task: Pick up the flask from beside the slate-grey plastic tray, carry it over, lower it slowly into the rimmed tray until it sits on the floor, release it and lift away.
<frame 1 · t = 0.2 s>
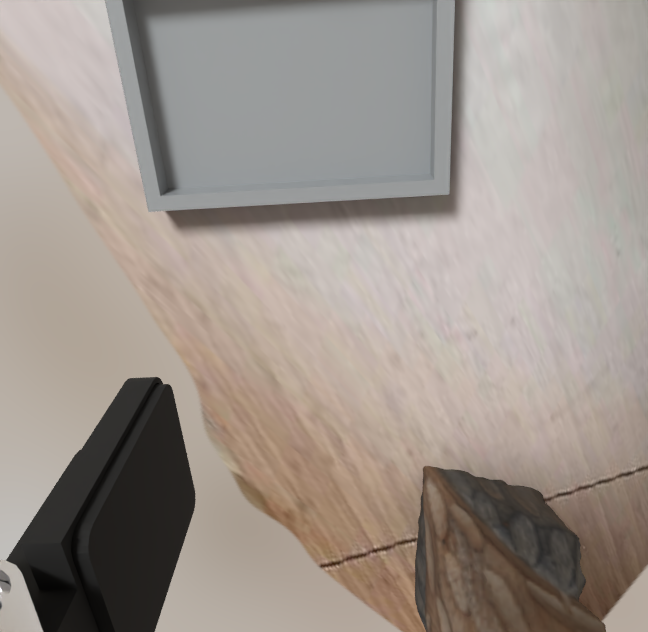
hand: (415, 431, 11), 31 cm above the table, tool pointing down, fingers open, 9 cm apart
tray: (290, 86, 37), on the table
owl: (468, 508, 52), on the table
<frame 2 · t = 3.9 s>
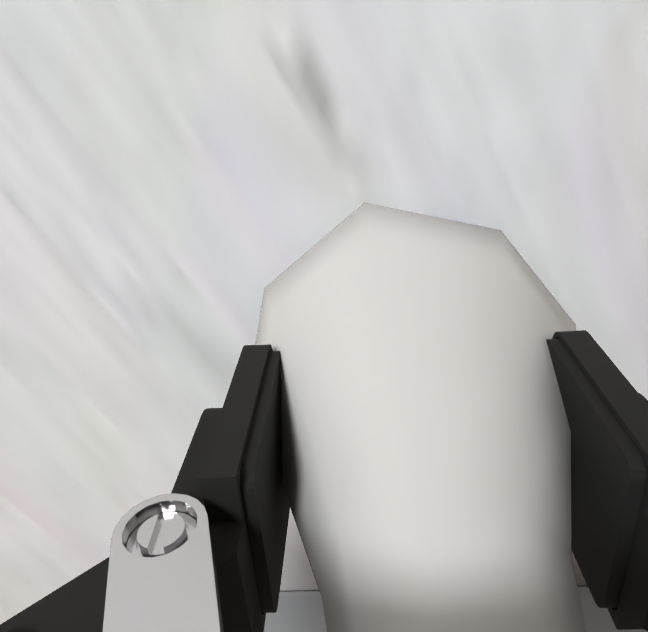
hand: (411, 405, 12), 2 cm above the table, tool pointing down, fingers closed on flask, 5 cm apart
flask: (402, 351, 14), on the table, touching gripper
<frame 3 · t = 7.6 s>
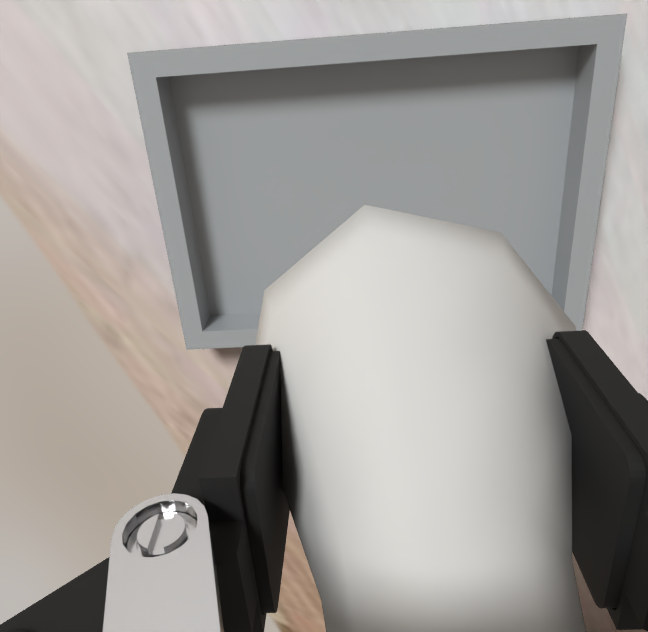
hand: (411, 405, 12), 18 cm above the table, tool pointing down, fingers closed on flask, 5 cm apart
flask: (402, 353, 14), point 16 cm above the table, touching gripper
tray: (373, 192, 28), on the table
when the fingers open (3 cm above the table, at t = 11.3 s): flask stays where it is, resting on tray.
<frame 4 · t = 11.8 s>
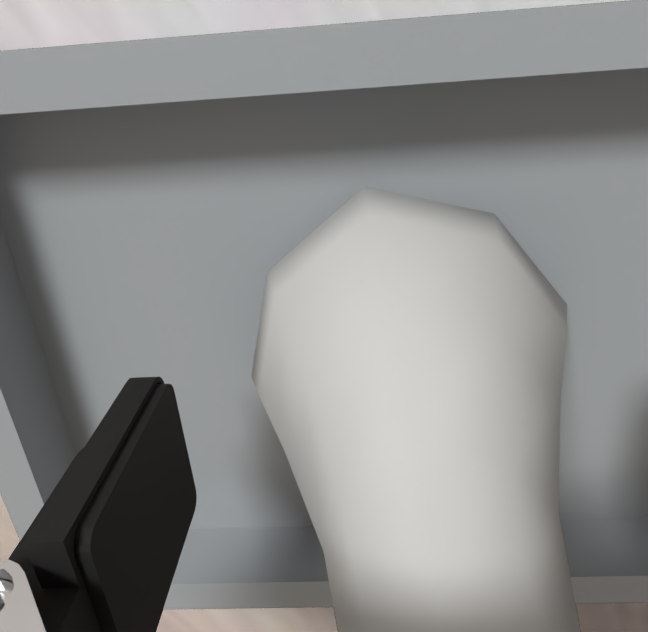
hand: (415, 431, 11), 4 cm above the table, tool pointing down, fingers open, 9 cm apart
flask: (400, 332, 14), resting on tray
tray: (398, 331, 14), on the table
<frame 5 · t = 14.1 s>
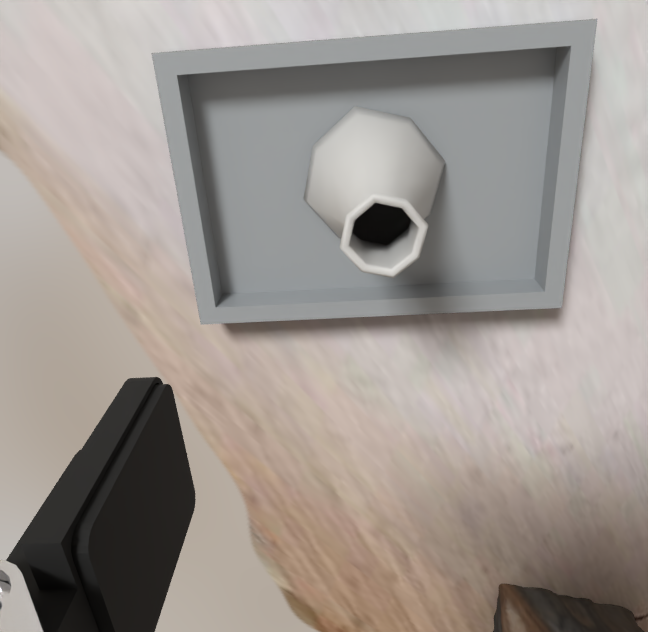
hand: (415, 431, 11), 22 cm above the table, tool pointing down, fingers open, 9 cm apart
flask: (372, 178, 30), resting on tray
tray: (371, 180, 31), on the table
owl: (546, 626, 46), on the table
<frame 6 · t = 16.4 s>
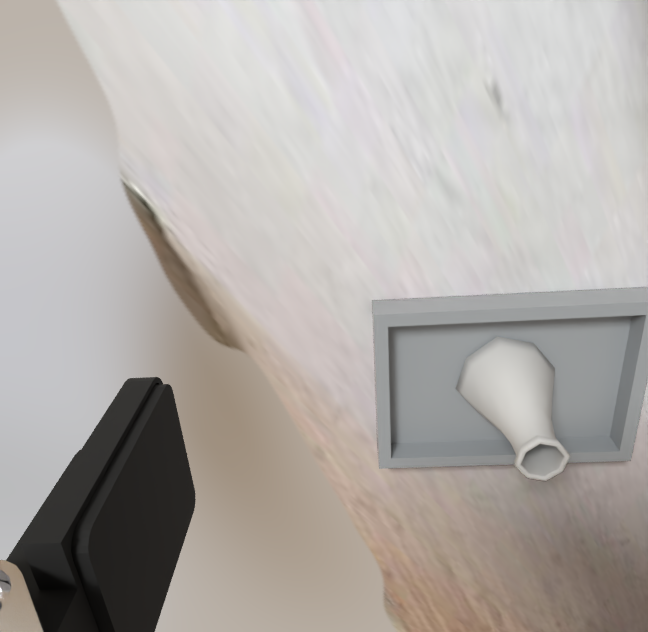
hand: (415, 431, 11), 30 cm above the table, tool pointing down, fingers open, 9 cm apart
flask: (502, 375, 45), resting on tray
tray: (501, 374, 45), on the table
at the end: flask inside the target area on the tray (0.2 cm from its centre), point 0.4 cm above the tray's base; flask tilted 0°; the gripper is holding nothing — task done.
